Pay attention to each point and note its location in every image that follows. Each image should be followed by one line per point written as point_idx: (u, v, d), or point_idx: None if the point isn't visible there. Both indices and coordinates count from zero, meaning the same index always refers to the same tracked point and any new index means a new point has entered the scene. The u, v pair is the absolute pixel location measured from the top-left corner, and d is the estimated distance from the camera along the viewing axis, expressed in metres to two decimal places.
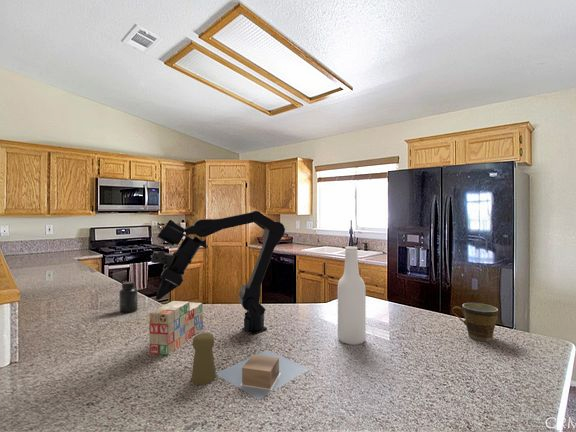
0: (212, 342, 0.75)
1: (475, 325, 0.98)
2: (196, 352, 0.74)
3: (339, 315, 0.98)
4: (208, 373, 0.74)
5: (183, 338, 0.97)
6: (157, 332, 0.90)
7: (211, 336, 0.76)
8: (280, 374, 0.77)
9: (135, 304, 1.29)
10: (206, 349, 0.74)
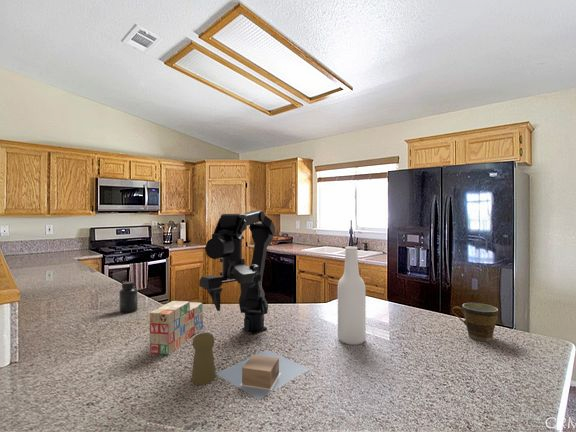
0: (212, 342, 0.75)
1: (475, 325, 0.98)
2: (196, 352, 0.74)
3: (339, 315, 0.98)
4: (208, 373, 0.74)
5: (183, 338, 0.97)
6: (157, 331, 0.90)
7: (211, 336, 0.76)
8: (280, 374, 0.77)
9: (135, 304, 1.29)
10: (206, 349, 0.74)
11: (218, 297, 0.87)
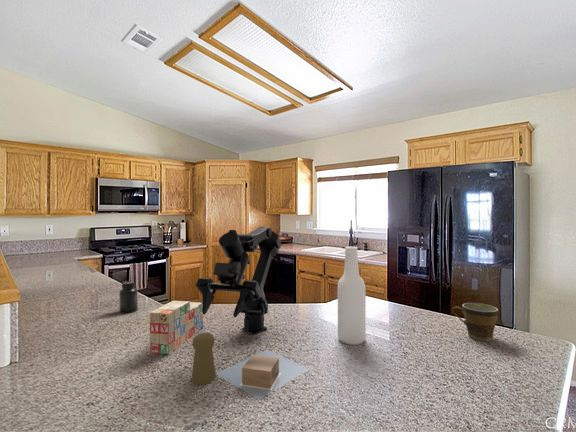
0: (212, 342, 0.75)
1: (475, 325, 0.98)
2: (196, 352, 0.74)
3: (339, 315, 0.98)
4: (208, 373, 0.74)
5: (183, 338, 0.97)
6: (157, 331, 0.90)
7: (211, 336, 0.76)
8: (280, 374, 0.77)
9: (135, 304, 1.29)
10: (206, 349, 0.74)
11: (204, 297, 0.87)
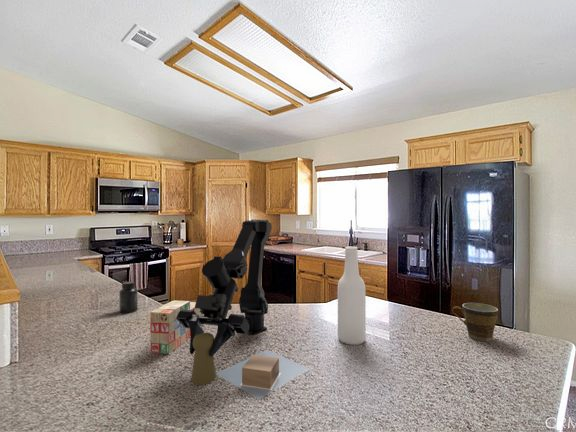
0: (212, 342, 0.75)
1: (475, 325, 0.98)
2: (196, 352, 0.74)
3: (339, 315, 0.98)
4: (208, 373, 0.74)
5: (184, 337, 0.98)
6: (158, 331, 0.90)
7: (211, 336, 0.76)
8: (280, 374, 0.77)
9: (135, 304, 1.29)
10: (206, 349, 0.74)
11: (192, 334, 0.77)
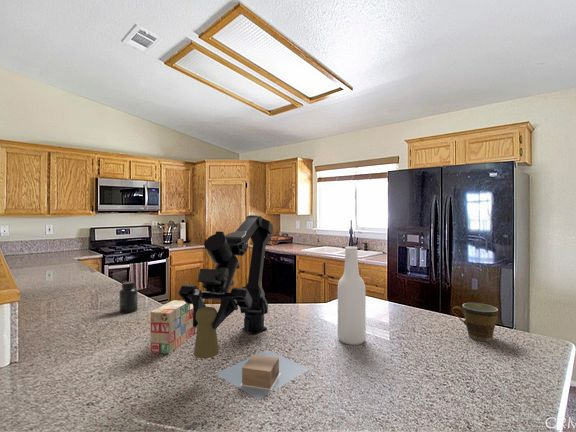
0: (215, 315, 0.75)
1: (475, 325, 0.98)
2: (199, 325, 0.74)
3: (339, 315, 0.98)
4: (211, 345, 0.74)
5: (184, 337, 0.98)
6: (158, 330, 0.91)
7: (214, 309, 0.76)
8: (280, 374, 0.77)
9: (135, 304, 1.29)
10: (209, 322, 0.74)
11: (195, 308, 0.77)
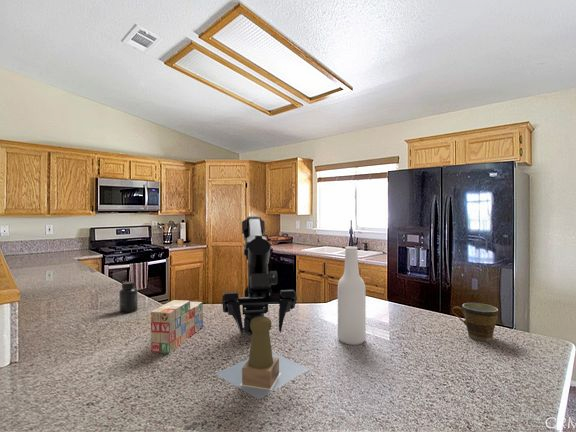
0: None
1: (475, 325, 0.98)
2: (257, 335, 0.73)
3: (339, 315, 0.98)
4: (270, 354, 0.74)
5: (184, 336, 0.98)
6: (158, 330, 0.91)
7: (268, 318, 0.76)
8: (280, 374, 0.77)
9: (135, 304, 1.29)
10: (268, 330, 0.74)
11: (238, 315, 0.75)
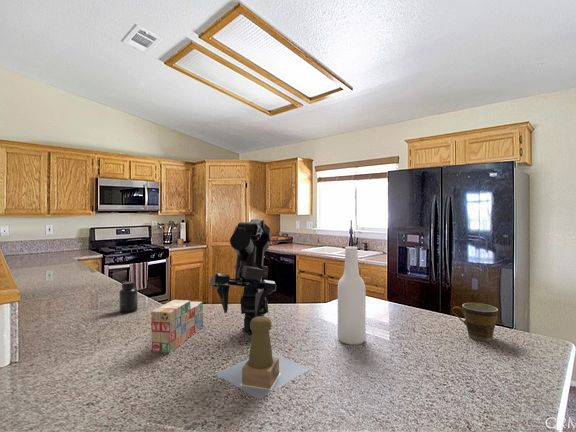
0: None
1: (475, 325, 0.98)
2: (257, 335, 0.73)
3: (339, 315, 0.98)
4: (270, 354, 0.74)
5: (184, 336, 0.98)
6: (159, 330, 0.91)
7: (268, 318, 0.76)
8: (280, 374, 0.77)
9: (135, 304, 1.29)
10: (268, 331, 0.74)
11: (225, 296, 0.85)
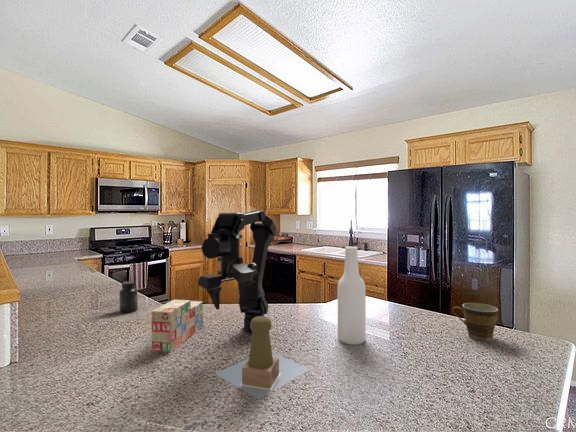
0: None
1: (475, 325, 0.98)
2: (257, 335, 0.73)
3: (339, 315, 0.98)
4: (270, 354, 0.74)
5: (184, 336, 0.99)
6: (159, 329, 0.91)
7: (268, 318, 0.76)
8: (280, 374, 0.77)
9: (135, 304, 1.29)
10: (268, 331, 0.74)
11: (217, 296, 0.88)
